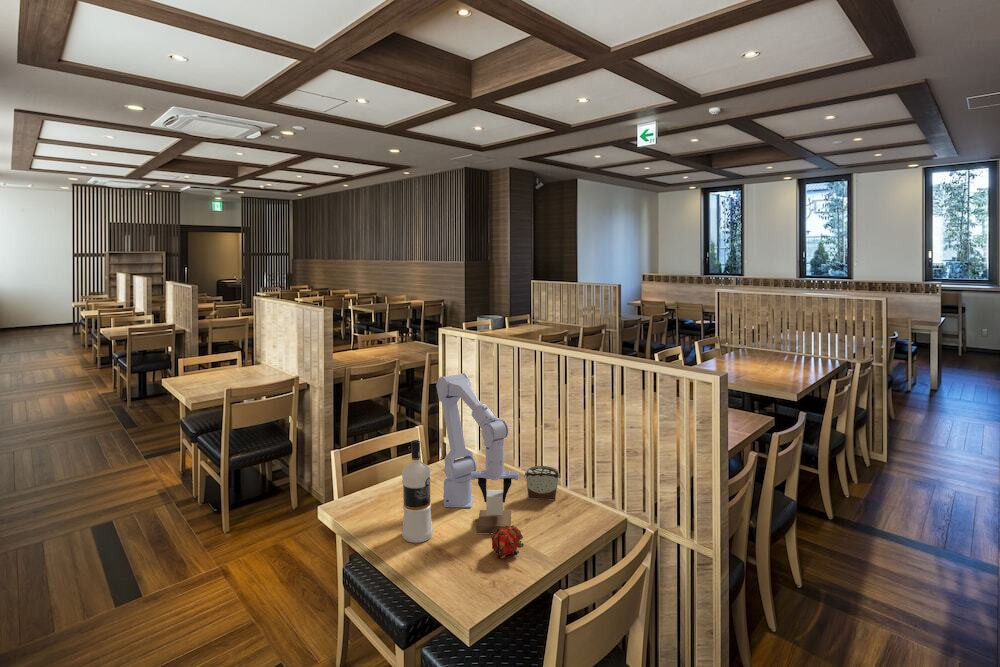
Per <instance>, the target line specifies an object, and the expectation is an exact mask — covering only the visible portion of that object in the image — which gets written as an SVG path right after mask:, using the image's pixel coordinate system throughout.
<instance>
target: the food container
mask: <svg viewBox="0 0 1000 667" xmlns="http://www.w3.org/2000/svg"><path fill="white" fill-rule="evenodd" d="M524 478H525V479H526V489H527V499H528V500H538V499H552V500H551V501H556V497H557V490H558V485H559V484H558V483H559V479H561V476H560V473H559V471H558V469H556V468H554V467H552V466H548V465H536V466H531V467H528V468H527V469H526V470H525V473H524Z"/></svg>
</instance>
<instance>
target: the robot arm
mask: <svg viewBox="0 0 1000 667" xmlns="http://www.w3.org/2000/svg"><path fill="white" fill-rule="evenodd" d="M471 385H472V383H471V379H470V378H469V376H468V375H467V374H466V373H464V372H462V373H460V374H453V375H452V374H451V375H446V376H440V377H439V378H438V380H437V382H436V386H435V387H436V393H437V397H438V401H439V402H441V406H442V412H443V417H444V421H445V422H444V423H445V427H446V428H445V429H446V433H447V440H448V444H449V451H448V453H447V454H446V456H445V457H444V467H443V468H444V473H445V476H446V477H444V479H443V508H468V509H469V508H472V507H473V502H474V496H473V495H472V481H475V480H477V484H478V486H479V489H480V490H481V493H482V496H483V500H484V503H486V496H487V480H490V481H498V480H503V482H502V483H503V484H502V485H503V486H502V487H503V489H502V490H503V504H505V503H506V497H507V494H508V492H509V490H510V488H511V485H512V480H514V481H519V471H510V470H505V439H506V438H507V437H508V435H509V427H508V424H507V422H506V421H505V420H504V419H501V418H499V417H496V416H495V414H494V413H493V411H492V410H491V409H490V408H489V406H488V405H487V404H485V403H481V401H480V400H479V398H478V397H477V395H476V393H474V391H473V389H472V386H471ZM460 399H461V400H462V402H464V403H465V404H466V406H468V407H469V409H471V417H472V418H473V419H474V421H475V422H476V423H477V425H478V426H479V427H480V429H481V430H480V431H481V436H482V439H483V446H484V447H485V469H484V470H477V469H478V468H477V466H478V465H477V462H476V459H475V456H474V454H473V451H471V450H470V449H467V448H466V444H465V439H464V438H465V437H464V432H463V428H462V422H461V416H460V410H459V405H458V402H459V400H460Z"/></svg>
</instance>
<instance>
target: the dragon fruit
mask: <svg viewBox="0 0 1000 667" xmlns="http://www.w3.org/2000/svg"><path fill="white" fill-rule="evenodd" d="M523 538H524V536H523V535H522V532H521V529H519V528H518V527H517V525H514V524H513V525H511V526H510V527H509V526H506V525H505V526H504V528H502V529H500V528H499V529H497V530H496V532H495V534H492V537H491V549H492V550H493V551H494V553H495V555H497V559H501V560H502V559H507V558H508V556H509V555H511V557H514V556H517V555H518V554H519V553H520V551H519V550H517V549H518V548H519V549H520V548H523V547H524V546H525V544H524V543H523V542H522V540H523Z"/></svg>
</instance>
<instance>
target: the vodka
mask: <svg viewBox="0 0 1000 667" xmlns="http://www.w3.org/2000/svg"><path fill="white" fill-rule="evenodd" d="M410 445H411V447H410V448H411V452H410V453H411V462H410V463H408V464H407V465H405V466H404V467H403V469H402V471H401V477H402V481H401V483H402V493H403V496H402V497H403V499H402V500H403V504H402V508H403V519H402V520H403V523H402V529H401V536H402V538H403V539H404V540H405V541H406V542H409V543H412V544H419V543H423V542H426V541H428V540H429V539H431V537H432V536H433V535H434V526H433V523H432V512H431V510H432V503H431V472H432V471H431V468H430V467H429V466H428V464H426V463H425V462H422V461H421V441H420V440H418V439H414V440H412V441H411V442H410Z"/></svg>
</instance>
